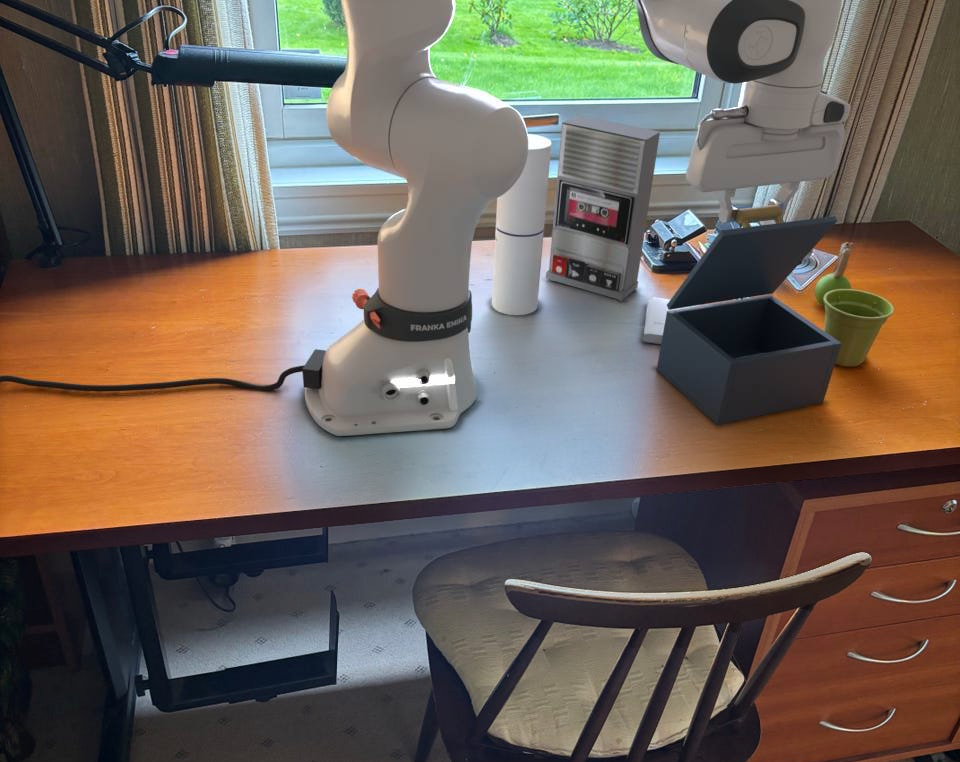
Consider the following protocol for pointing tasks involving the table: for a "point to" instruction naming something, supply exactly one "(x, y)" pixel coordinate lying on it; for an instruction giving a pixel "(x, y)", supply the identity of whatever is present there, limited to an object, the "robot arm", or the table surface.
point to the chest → (746, 358)
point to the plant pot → (854, 322)
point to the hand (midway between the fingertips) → (751, 217)
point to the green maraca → (835, 275)
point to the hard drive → (656, 319)
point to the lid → (750, 257)
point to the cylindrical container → (521, 234)
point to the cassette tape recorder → (601, 205)
